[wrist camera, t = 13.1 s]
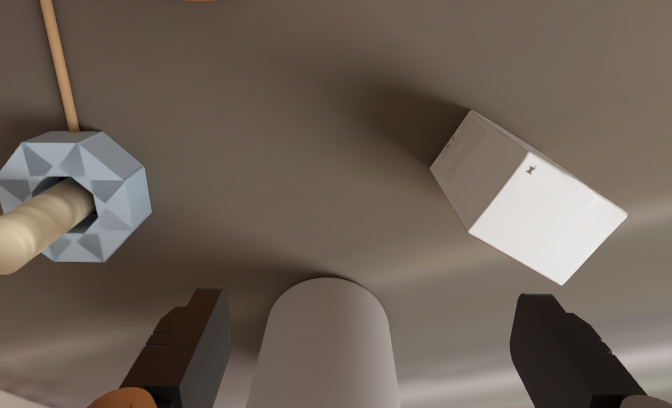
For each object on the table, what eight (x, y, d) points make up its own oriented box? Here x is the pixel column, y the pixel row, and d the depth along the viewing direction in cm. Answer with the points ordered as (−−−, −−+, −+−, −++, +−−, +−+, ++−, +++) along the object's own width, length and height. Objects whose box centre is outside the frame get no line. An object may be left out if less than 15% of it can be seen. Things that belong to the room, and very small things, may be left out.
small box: (427, 168, 40) (463, 232, 28) (470, 107, 38) (529, 148, 26) (499, 211, 42) (562, 289, 30) (544, 154, 39) (633, 213, 27)
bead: (15, 130, 39) (-19, 141, 35) (139, 131, 39) (117, 142, 35) (45, 240, 43) (17, 261, 40) (157, 242, 43) (139, 263, 40)
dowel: (65, 170, 41) (-40, 227, 29) (104, 170, 40) (14, 227, 29) (73, 206, 42) (-23, 274, 31) (111, 207, 42) (28, 275, 31)
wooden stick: (23, -90, 33) (16, -93, 32) (34, -90, 33) (27, -93, 32) (73, 134, 39) (68, 136, 38) (82, 134, 39) (77, 136, 38)
